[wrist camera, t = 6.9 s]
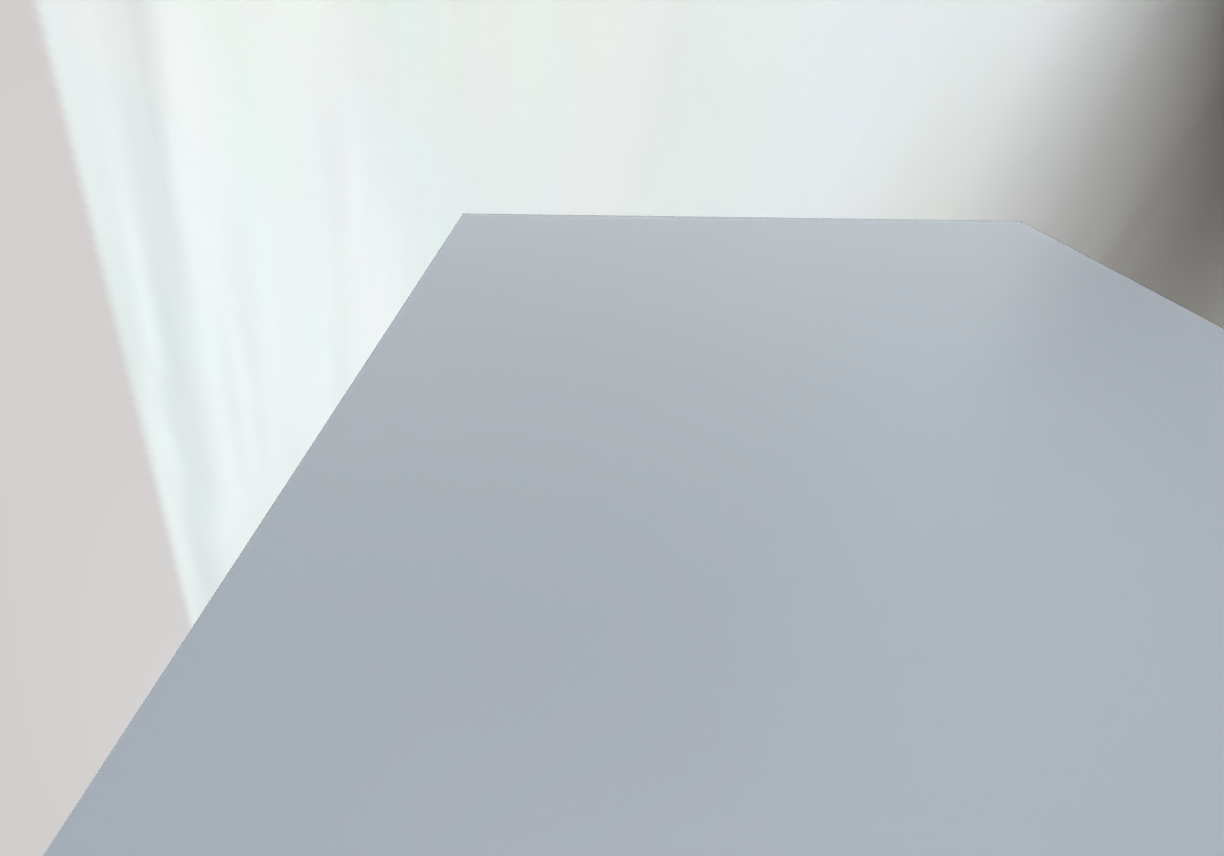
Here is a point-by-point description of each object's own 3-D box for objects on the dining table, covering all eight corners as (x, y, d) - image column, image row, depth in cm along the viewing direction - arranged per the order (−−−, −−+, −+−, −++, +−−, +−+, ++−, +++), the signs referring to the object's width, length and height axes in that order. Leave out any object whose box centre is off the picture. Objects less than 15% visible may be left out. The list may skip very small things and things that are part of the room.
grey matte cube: (1020, 221, 10) (2378, 940, 2) (897, 619, 14) (1250, 1362, 6) (463, 213, 10) (-19, 951, 2) (499, 618, 14) (374, 1375, 6)
